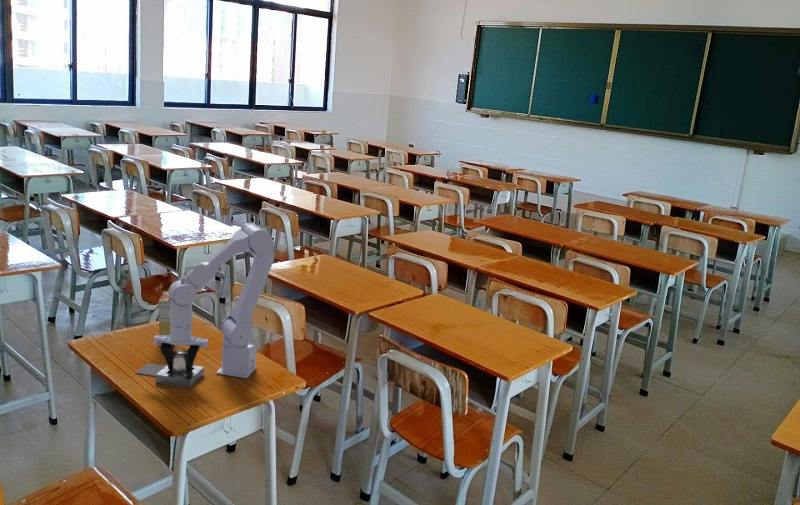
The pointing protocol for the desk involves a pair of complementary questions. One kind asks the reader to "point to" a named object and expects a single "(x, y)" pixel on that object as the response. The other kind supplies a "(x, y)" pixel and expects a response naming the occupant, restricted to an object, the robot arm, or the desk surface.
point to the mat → (150, 369)
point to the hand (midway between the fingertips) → (180, 368)
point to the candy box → (164, 314)
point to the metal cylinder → (180, 363)
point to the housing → (180, 377)
